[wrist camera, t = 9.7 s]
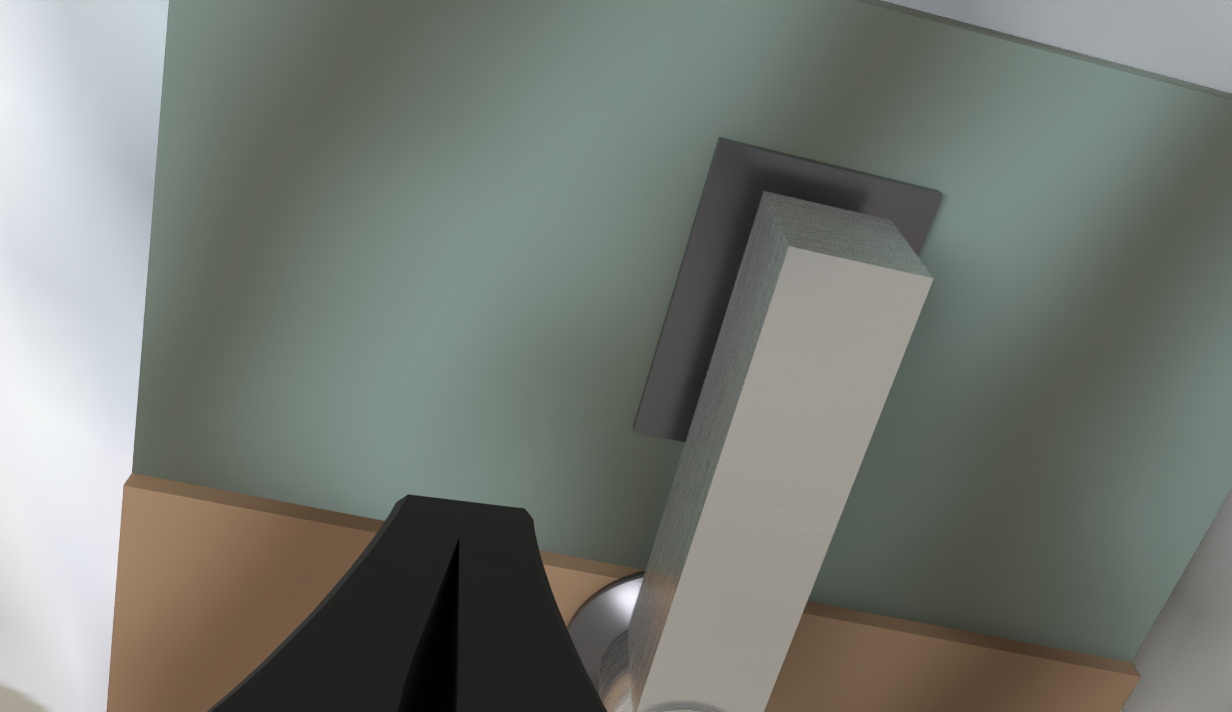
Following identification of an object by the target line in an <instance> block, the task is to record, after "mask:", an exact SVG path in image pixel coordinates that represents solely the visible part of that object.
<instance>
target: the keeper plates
mask: <svg viewBox="0 0 1232 712" xmlns="http://www.w3.org/2000/svg"><path fill="white" fill-rule="evenodd" d="M763 191H766V192H771V193H775V194H779V195H784V196H788V197H793V198H797V199H801V200H806V201H810V202H814V203H819V204H823V205H828V206H832V207H836V208H841V209H845V210H850V211H854V212H858V213H863V214H867V215H871V216H876V217H880V218H885V219H889V220H891V221H892V222H893V223H894V225H895V226H896V228H897V229H898V230H899V232H900V233H901V234H902V236H903V237H904V238H905V240H906V241H907V243H908V244H909V245H910V247H911V248H912V249H913V251H914V252H915V254H916V255H917V256H919V253H920V251H921V248H922V246H923V243H924V241H925V238H926V235H927V233H928V230H929V228H930V225H931V223H932V220H933V218H934V215H935V213H936V210H937V207H938V205H939V202H940V200H941V197H942V195H943V194H942V193H941V192H940V191H939V190H935V189H931V188H927V187H923V186H919V185H915V184H911V183H907V182H902V181H898V180H894V179H890V178H886V177H882V176H878V175H874V174H870V173H866V172H861V171H857V170H853V169H849V168H845V167H841V166H837V165H833V164H829V163H825V162H820V161H816V160H812V159H808V158H804V157H800V156H796V155H792V154H788V153H784V152H780V151H775V150H771V149H767V148H763V147H759V146H755V145H751V144H747V143H743V142H739V141H734V140H730V139H726V138H722V137H719V138H718V141H717V144H716V148H715V151H714V154H713V158H712V161H711V164H710V168H709V171H708V175H707V178H706V181H705V185H704V188H703V191H702V195H701V198H700V202H699V205H698V208H697V212H696V215H695V218H694V222H693V225H692V228H691V232H690V235H689V239H688V242H687V245H686V249H685V252H684V255H683V259H682V262H681V266H680V269H679V272H678V276H677V279H676V282H675V286H674V289H673V292H672V296H671V299H670V303H669V306H668V309H667V313H666V316H665V319H664V323H663V326H662V330H661V333H660V336H659V340H658V343H657V346H656V350H655V353H654V356H653V360H652V363H651V367H650V370H649V373H648V377H647V380H646V383H645V387H644V390H643V394H642V397H641V400H640V404H639V407H638V410H637V414H636V417H635V421H634V424H633V432H638V433H643V434H648V435H652V436H657V437H662V438H667V439H672V440H677V441H681V442H686V439H687V436H688V433H689V429H690V426H691V423H692V420H693V416H694V413H695V410H696V407H697V404H698V400H699V397H700V394H701V391H702V387H703V384H704V381H705V378H706V375H707V371H708V368H709V365H710V362H711V358H712V355H713V352H714V349H715V346H716V342H717V339H718V336H719V333H720V329H721V326H722V323H723V320H724V317H725V313H726V310H727V307H728V304H729V300H730V297H731V294H732V291H733V288H734V284H735V281H736V278H737V275H738V271H739V268H740V265H741V262H742V259H743V255H744V252H745V249H746V246H747V242H748V239H749V236H750V233H751V230H752V226H753V223H754V220H755V217H756V213H757V210H758V207H759V204H760V201H761V197H762V194H763ZM644 574H645V571H641V572H637V573H634V574H631V575H627V576H625V577H622V578H620V579H618V580H615V581H613V582H611V583H609V584H608V585H606V586H604V587H602V588H601V589H599V590H598V591H597V592H595V593H594V594H593V595H591V596H590V597H589V598H588V599H587V600H586V601H585V602H584V603H583V604H582V605H581V606H580V607H579V609H578V610H577V611H576V612H575V614H574V615H573V617H572V618H571V620H570V622H569V624H568V626H567V630H568V632H569V634H570V637H571V639H572V641H573V644H574V646H575V648H576V651H577V653H578V655H579V657H580V659H581V661H582V663H583V665H584V668H585V670H586V672H587V674H588V676H589V678H590V679H591V681H592V683H593V685H594V687H595V689H596V691H597V693H598V695H599V666H600V662H601V659H602V657H603V654H604V653H605V651H606V649H607V648H608V646H609V645H610V644H611V642H612V641H613V640H614V639H615V638H616V637H618V636H619V635H620V634H621V633H623V632H624V631H625V630H627V629H628V626H629V623H630V620H631V616H632V613H633V610H634V607H635V603H636V600H637V597H638V594H639V591H640V587H641V584H642V581H643V578H644Z"/></svg>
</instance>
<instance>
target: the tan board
mask: <svg viewBox="0 0 1232 712" xmlns="http://www.w3.org/2000/svg"><path fill="white" fill-rule="evenodd" d="M719 137H722V138H726V139H730V140H734V141H739V142H743V143H747V144H751V145H755V146H759V147H763V148H767V149H771V150H775V151H780V152H784V153H788V154H792V155H796V156H800V157H804V158H808V159H812V160H816V161H820V162H825V163H829V164H833V165H837V166H841V167H845V168H849V169H853V170H857V171H861V172H866V173H870V174H874V175H878V176H882V177H886V178H890V179H894V180H898V181H902V182H907V183H911V184H915V185H919V186H923V187H927V188H931V189H935V190H939V191H940V192H941V193H942V194H943V195H942V197H941V200H940V202H939V205H938V207H937V210H936V213H935V215H934V218H933V220H932V223H931V225H930V228H929V230H928V233H927V235H926V238H925V241H924V243H923V246H922V248H921V251H920V253H919V256H918V258H919V259H920V260H921V262H922V263H923V265H924V266H925V267H926V269H927V270H928V271H929V273H930V274H931V276H932V277H933V278H934V279H933V281H932V284H931V286H930V289H929V292H928V294H927V297H926V299H925V302H924V304H923V307H922V309H921V312H920V315H919V317H918V320H917V322H916V325H915V327H914V330H913V332H912V335H911V338H910V340H909V343H908V345H907V348H906V350H905V353H904V355H903V358H902V361H901V363H900V366H899V368H898V371H897V373H896V376H895V378H894V381H893V384H892V386H891V389H890V391H889V394H888V396H887V399H886V401H885V404H884V406H883V409H882V412H881V414H880V417H879V419H878V422H877V424H876V427H875V429H874V432H873V435H872V437H871V440H870V442H869V445H868V447H867V450H866V452H865V455H864V458H863V460H862V463H861V465H860V468H859V470H858V473H857V475H856V478H855V481H854V483H853V486H852V488H851V491H850V493H849V496H848V498H847V501H846V503H845V506H844V509H843V511H842V514H841V516H840V519H839V521H838V524H837V526H836V529H835V532H834V534H833V537H832V539H831V542H830V544H829V547H828V549H827V552H826V555H825V557H824V560H823V562H822V565H821V567H820V570H819V572H818V575H817V578H816V580H815V583H814V585H813V588H812V590H811V593H810V595H809V598H808V601H807V603H806V606H805V608H804V611H803V613H802V616H801V618H800V621H799V623H798V626H797V629H796V631H795V634H794V636H793V639H792V641H791V644H790V646H789V649H788V652H787V654H786V657H785V659H784V662H783V664H782V667H781V669H780V672H779V675H778V677H777V680H776V682H775V685H774V687H773V690H772V692H771V695H770V698H769V700H768V703H767V705H766V708H765V710H764V712H1120V711H1121V709H1122V707H1123V706H1124V704H1125V702H1126V701H1127V699H1128V697H1129V696H1130V694H1131V692H1132V690H1133V689H1134V687H1135V685H1136V684H1137V682H1138V680H1139V678H1140V675H1139V674H1138V672H1137V671H1136V669H1135V667H1134V666H1133V664H1132V663H1131V662H1132V661H1133V659H1134V657H1135V655H1136V654H1137V652H1138V650H1139V648H1140V647H1141V645H1142V643H1143V641H1144V640H1145V638H1146V636H1147V635H1148V633H1149V631H1150V629H1151V628H1152V626H1153V624H1154V622H1155V621H1156V619H1157V617H1158V615H1159V614H1160V612H1161V610H1162V608H1163V607H1164V605H1165V603H1166V602H1167V600H1168V598H1169V596H1170V595H1171V593H1172V591H1173V589H1174V588H1175V586H1176V584H1177V582H1178V581H1179V579H1180V577H1181V575H1182V574H1183V572H1184V570H1185V569H1186V567H1187V565H1188V563H1189V562H1190V560H1191V558H1192V556H1193V555H1194V553H1195V551H1196V549H1197V548H1198V546H1199V544H1200V542H1201V541H1202V539H1203V537H1204V535H1205V534H1206V532H1207V530H1208V529H1209V527H1210V525H1211V523H1212V522H1213V520H1214V518H1215V516H1216V515H1217V513H1218V511H1219V509H1220V508H1221V506H1222V504H1223V502H1224V501H1225V499H1226V497H1227V496H1228V494H1229V492H1230V490H1231V489H1232V94H1231V93H1227V92H1223V91H1219V90H1215V89H1212V88H1208V87H1204V86H1200V85H1197V84H1193V83H1189V82H1185V81H1182V80H1178V79H1174V78H1170V77H1167V76H1163V75H1159V74H1155V73H1152V72H1148V71H1144V70H1140V69H1136V68H1133V67H1129V66H1125V65H1121V64H1118V63H1114V62H1110V61H1106V60H1103V59H1099V58H1095V57H1091V56H1088V55H1084V54H1080V53H1076V52H1073V51H1069V50H1065V49H1061V48H1057V47H1054V46H1050V45H1046V44H1042V43H1039V42H1035V41H1031V40H1027V39H1024V38H1020V37H1016V36H1012V35H1009V34H1005V33H1001V32H997V31H994V30H990V29H986V28H982V27H978V26H975V25H971V24H967V23H963V22H960V21H956V20H952V19H948V18H945V17H941V16H937V15H933V14H930V13H926V12H922V11H918V10H915V9H911V8H907V7H903V6H899V5H896V4H892V3H888V2H884V1H881V0H169V8H168V21H167V34H166V47H165V59H164V72H163V85H162V98H161V110H160V123H159V136H158V148H157V161H156V174H155V187H154V199H153V212H152V225H151V238H150V250H149V263H148V276H147V288H146V301H145V314H144V327H143V339H142V352H141V365H140V377H139V390H138V403H137V416H136V428H135V441H134V454H133V467H132V474H131V475H130V477H129V478H128V480H127V481H126V483H125V484H124V488H123V501H122V514H121V527H120V541H119V554H118V567H117V581H116V594H115V607H114V620H113V634H112V647H111V660H110V674H109V687H108V700H107V712H207V711H208V710H209V709H210V708H211V707H213V706H214V705H215V704H216V703H217V702H219V701H220V700H221V699H222V698H223V697H225V696H226V695H227V694H228V693H229V692H230V691H231V690H232V689H234V688H235V687H236V686H237V685H238V684H239V683H240V682H241V681H243V680H244V679H245V678H246V677H247V676H248V675H249V674H250V673H251V672H252V671H254V670H255V669H256V668H257V667H258V666H259V665H260V664H261V663H262V662H263V661H264V660H265V659H266V658H267V657H268V656H269V655H270V654H271V653H272V652H273V651H274V650H275V649H276V648H277V647H278V646H279V645H280V644H281V643H282V642H283V641H284V640H285V639H286V638H287V637H288V636H289V635H290V634H291V633H292V632H293V631H294V630H295V629H296V628H297V627H298V626H299V625H300V624H301V623H302V622H303V621H304V620H305V619H306V618H307V617H308V616H309V615H310V614H311V612H312V611H313V610H314V609H315V608H316V607H317V606H318V605H319V604H320V602H321V601H322V600H323V599H324V598H325V597H326V595H327V594H328V593H329V592H330V591H331V590H332V588H333V587H334V586H335V585H336V584H337V583H338V581H339V580H340V579H341V578H342V577H343V576H344V574H345V573H346V572H347V571H348V570H349V569H350V567H351V566H352V565H353V564H354V562H355V561H356V560H357V559H358V557H359V556H360V555H361V553H362V552H363V551H364V550H365V548H366V547H367V546H368V544H369V543H370V542H371V540H372V539H373V538H374V536H375V535H376V533H377V532H378V531H379V529H380V528H381V526H382V525H383V523H384V522H385V520H386V519H387V517H388V516H389V514H390V512H391V510H392V509H393V507H394V505H395V503H396V502H397V501H399V500H400V499H402V498H403V497H405V496H406V495H408V494H410V495H418V496H426V497H435V498H443V499H451V500H459V501H468V502H476V503H484V504H492V505H501V506H509V507H517V508H525V509H526V511H527V512H528V513H529V514H530V515H531V517H532V518H533V519H534V528H535V534H536V539H537V543H538V547H539V551H540V555H541V559H542V562H543V566H544V569H545V572H546V575H547V578H548V581H549V584H550V587H551V590H552V592H553V595H554V598H555V600H556V603H557V606H558V608H559V611H560V613H561V615H562V618H563V620H564V622H565V625H566V627H567V626H568V624H569V622H570V620H571V618H572V617H573V615H574V614H575V612H576V611H577V610H578V609H579V607H580V606H581V605H582V604H583V603H584V602H585V601H586V600H587V599H588V598H589V597H590V596H591V595H593V594H594V593H595V592H597V591H598V590H599V589H601V588H602V587H604V586H606V585H608V584H609V583H611V582H613V581H615V580H618V579H620V578H622V577H625V576H627V575H631V574H634V573H637V572H641V571H646V568H647V565H648V562H649V558H650V555H651V552H652V549H653V545H654V542H655V539H656V536H657V533H658V529H659V526H660V523H661V520H662V516H663V513H664V510H665V507H666V504H667V500H668V497H669V494H670V491H671V487H672V484H673V481H674V478H675V474H676V471H677V468H678V465H679V462H680V458H681V455H682V452H683V449H684V445H685V442H681V441H677V440H672V439H667V438H662V437H657V436H652V435H648V434H643V433H638V432H633V424H634V421H635V417H636V414H637V410H638V407H639V404H640V400H641V397H642V394H643V390H644V387H645V383H646V380H647V377H648V373H649V370H650V367H651V363H652V360H653V356H654V353H655V350H656V346H657V343H658V340H659V336H660V333H661V330H662V326H663V323H664V319H665V316H666V313H667V309H668V306H669V303H670V299H671V296H672V292H673V289H674V286H675V282H676V279H677V276H678V272H679V269H680V266H681V262H682V259H683V255H684V252H685V249H686V245H687V242H688V239H689V235H690V232H691V228H692V225H693V222H694V218H695V215H696V212H697V208H698V205H699V202H700V198H701V195H702V191H703V188H704V185H705V181H706V178H707V175H708V171H709V168H710V164H711V161H712V158H713V154H714V151H715V148H716V144H717V141H718V138H719Z"/></svg>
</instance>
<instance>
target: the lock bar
mask: <svg viewBox="0 0 1232 712" xmlns="http://www.w3.org/2000/svg"><path fill="white" fill-rule="evenodd" d="M933 279H934V278H933V277H932V276H931V274H930V273H929V271H928V270H927V269H926V267H925V266H924V265H923V263H922V262H921V260H920V259H919V258H918V256H917V255H916V254H915V252H914V251H913V249H912V248H911V247H910V245H909V244H908V243H907V241H906V240H905V238H904V237H903V236H902V234H901V233H900V232H899V230H898V229H897V228H896V226H895V225H894V223H893V222H892V221H891V220H889V219H885V218H880V217H876V216H871V215H867V214H863V213H858V212H854V211H850V210H845V209H841V208H836V207H832V206H828V205H823V204H819V203H814V202H810V201H806V200H801V199H797V198H793V197H788V196H784V195H779V194H775V193H771V192H766V191H763V194H762V197H761V201H760V204H759V207H758V210H757V213H756V217H755V220H754V223H753V226H752V230H751V233H750V236H749V239H748V242H747V246H746V249H745V252H744V255H743V259H742V262H741V265H740V268H739V271H738V275H737V278H736V281H735V284H734V288H733V291H732V294H731V297H730V300H729V304H728V307H727V310H726V313H725V317H724V320H723V323H722V326H721V329H720V333H719V336H718V339H717V342H716V346H715V349H714V352H713V355H712V358H711V362H710V365H709V368H708V371H707V375H706V378H705V381H704V384H703V387H702V391H701V394H700V397H699V400H698V404H697V407H696V410H695V413H694V416H693V420H692V423H691V426H690V429H689V433H688V436H687V439H686V442H685V445H684V449H683V452H682V455H681V458H680V462H679V465H678V468H677V471H676V474H675V478H674V481H673V484H672V487H671V491H670V494H669V497H668V500H667V504H666V507H665V510H664V513H663V516H662V520H661V523H660V526H659V529H658V533H657V536H656V539H655V542H654V545H653V549H652V552H651V555H650V558H649V562H648V565H647V568H646V571H645V574H644V578H643V581H642V584H641V587H640V591H639V594H638V597H637V600H636V603H635V607H634V610H633V613H632V616H631V620H630V623H629V626H628V629H627V630H625V631H624V632H623V633H621V634H620V635H619V636H618V637H616V638H615V639H614V640H613V641H612V642H611V644H610V645H609V646H608V648H607V649H606V651H605V653H604V654H603V657H602V659H601V662H600V666H599V697H600V699H601V701H602V703H603V705H604V706H605V708H606V710H607V712H764V710H765V708H766V705H767V703H768V700H769V698H770V695H771V692H772V690H773V687H774V685H775V682H776V680H777V677H778V675H779V672H780V669H781V667H782V664H783V662H784V659H785V657H786V654H787V652H788V649H789V646H790V644H791V641H792V639H793V636H794V634H795V631H796V629H797V626H798V623H799V621H800V618H801V616H802V613H803V611H804V608H805V606H806V603H807V601H808V598H809V595H810V593H811V590H812V588H813V585H814V583H815V580H816V578H817V575H818V572H819V570H820V567H821V565H822V562H823V560H824V557H825V555H826V552H827V549H828V547H829V544H830V542H831V539H832V537H833V534H834V532H835V529H836V526H837V524H838V521H839V519H840V516H841V514H842V511H843V509H844V506H845V503H846V501H847V498H848V496H849V493H850V491H851V488H852V486H853V483H854V481H855V478H856V475H857V473H858V470H859V468H860V465H861V463H862V460H863V458H864V455H865V452H866V450H867V447H868V445H869V442H870V440H871V437H872V435H873V432H874V429H875V427H876V424H877V422H878V419H879V417H880V414H881V412H882V409H883V406H884V404H885V401H886V399H887V396H888V394H889V391H890V389H891V386H892V384H893V381H894V378H895V376H896V373H897V371H898V368H899V366H900V363H901V361H902V358H903V355H904V353H905V350H906V348H907V345H908V343H909V340H910V338H911V335H912V332H913V330H914V327H915V325H916V322H917V320H918V317H919V315H920V312H921V309H922V307H923V304H924V302H925V299H926V297H927V294H928V292H929V289H930V286H931V284H932V281H933Z"/></svg>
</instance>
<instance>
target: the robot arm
mask: <svg viewBox="0 0 1232 712" xmlns="http://www.w3.org/2000/svg"><path fill="white" fill-rule="evenodd" d="M207 712H607V710H606V708H605V706H604V705H603V703H602V701H601V699H600V697H599V695H598V693H597V691H596V689H595V687H594V685H593V683H592V681H591V679H590V678H589V676H588V674H587V672H586V670H585V668H584V665H583V663H582V661H581V659H580V657H579V655H578V653H577V651H576V648H575V646H574V644H573V641H572V639H571V637H570V634H569V632H568V630H567V627H566V625H565V622H564V620H563V618H562V615H561V613H560V611H559V608H558V606H557V603H556V600H555V598H554V595H553V592H552V590H551V587H550V584H549V581H548V578H547V575H546V572H545V569H544V566H543V562H542V559H541V555H540V551H539V547H538V543H537V539H536V534H535V528H534V519H533V518H532V517H531V515H530V514H529V513H528V512H527V511H526V509H525V508H517V507H509V506H501V505H492V504H484V503H476V502H468V501H459V500H451V499H443V498H435V497H426V496H418V495H410V494H408V495H406V496H405V497H403V498H402V499H400V500H399V501H397V502H396V503H395V505H394V507H393V509H392V510H391V512H390V514H389V516H388V517H387V519H386V520H385V522H384V523H383V525H382V526H381V528H380V529H379V531H378V532H377V533H376V535H375V536H374V538H373V539H372V540H371V542H370V543H369V544H368V546H367V547H366V548H365V550H364V551H363V552H362V553H361V555H360V556H359V557H358V559H357V560H356V561H355V562H354V564H353V565H352V566H351V567H350V569H349V570H348V571H347V572H346V573H345V574H344V576H343V577H342V578H341V579H340V580H339V581H338V583H337V584H336V585H335V586H334V587H333V588H332V590H331V591H330V592H329V593H328V594H327V595H326V597H325V598H324V599H323V600H322V601H321V602H320V604H319V605H318V606H317V607H316V608H315V609H314V610H313V611H312V612H311V614H310V615H309V616H308V617H307V618H306V619H305V620H304V621H303V622H302V623H301V624H300V625H299V626H298V627H297V628H296V629H295V630H294V631H293V632H292V633H291V634H290V635H289V636H288V637H287V638H286V639H285V640H284V641H283V642H282V643H281V644H280V645H279V646H278V647H277V648H276V649H275V650H274V651H273V652H272V653H271V654H270V655H269V656H268V657H267V658H266V659H265V660H264V661H263V662H262V663H261V664H260V665H259V666H258V667H257V668H256V669H255V670H254V671H252V672H251V673H250V674H249V675H248V676H247V677H246V678H245V679H244V680H243V681H241V682H240V683H239V684H238V685H237V686H236V687H235V688H234V689H232V690H231V691H230V692H229V693H228V694H227V695H226V696H225V697H223V698H222V699H221V700H220V701H219V702H217V703H216V704H215V705H214V706H213V707H211V708H210V709H209V710H208V711H207Z"/></svg>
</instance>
